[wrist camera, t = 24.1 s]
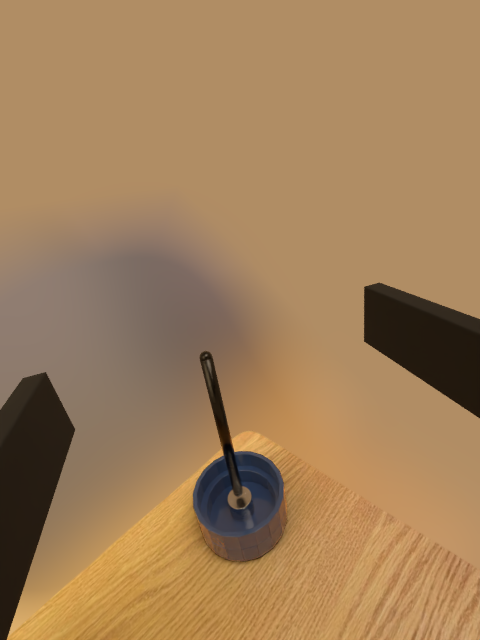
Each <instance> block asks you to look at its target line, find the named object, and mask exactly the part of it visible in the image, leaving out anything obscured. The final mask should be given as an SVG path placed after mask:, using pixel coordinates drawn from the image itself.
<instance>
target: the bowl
mask: <svg viewBox="0 0 480 640" xmlns="http://www.w3.org/2000/svg"><path fill="white" fill-rule="evenodd" d="M234 453H235V458H236V462H237V467H238V471H239V475H240V480H241V484H242V486H244V487H246V488H248V489H249V490H250V492H251V495H252V499H253V504H254V513H253V515H252V517H251V518H250V519H248V520H247V521H244V522H239V521H236V520H235V519H234V518H233V517H232V515H231V512H230V508H229V504H228V500H227V499H228V494H229V492H230V491H231V490H232V486H231V482H230V478H229V474H228V470H227V466H226V462H225V458H224V456H222V457H220V458H218V459H216V460H215V461H213V462H212V463H211V464H210V465H209V466H208V467H207V468H206V469H204V471H203V472H202V474H201V475H200V477H199V478H198V480H197V482H196V486H195V489H194V492H193V507H194V511H195V514H196V517H197V520H198V523H199V525H200V528H201V531H202V534H203V536H204V539H205V541H206V543H207V545H208V546H209V547H210V548H211V549H212V550H213V551H214V552H215V554H217V555H219V556H221V557H223V558H225V559H227V560H231V561H248V560H252V559H255V558H259V557H261V556H262V555H264V554H265V553H267V552H268V551H269V550H271V549H272V548H273V547H274V546H275V544H276V543H277V542H278V540H279V539H280V538H281V536H282V534H283V532H284V529H285V526H286V523H287V502H286V495H285V488H284V482H283V479H282V476H281V473H280V471H279V470H278V468H277V467H276V466H275V464H274V463H273V462H272V461H271V460H269V459H268V458H266V457H265V456H263V455H261V454H257V453H254V452H250V451H238V452H234Z"/></svg>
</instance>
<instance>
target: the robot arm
mask: <svg viewBox="0 0 480 640" xmlns="http://www.w3.org/2000/svg"><path fill="white" fill-rule="evenodd" d="M364 288H365V289H364V342H366V343H368V344H369V345H370V346H372V347H373V348H375V349H376V350H378V351H379V352H381V353H382V354H384V355H385V356H387V357H388V358H390V359H392V360H393V361H395V362H396V363H398V364H399V365H400V366H402V367H403V368H405V369H407V370H408V371H409V372H411V373H412V374H414V375H416V376H417V377H419V378H420V379H422V380H423V381H425V382H426V383H427V384H429V385H430V386H432V387H434V388H435V389H437V390H438V391H440V392H441V393H442V394H444V395H446V396H447V397H449V398H450V399H452V400H453V401H455V402H456V403H458V404H459V405H461V406H462V407H464V408H465V409H467V410H468V411H470V412H471V413H473V414H474V415H476V416H477V417H479V418H480V319H478V318H475V317H472V316H470V315H466V314H464V313H461V312H458V311H456V310H453V309H450V308H448V307H445V306H442V305H439V304H437V303H433V302H431V301H428V300H426V299H423V298H420V297H417V296H415V295H412V294H409V293H406V292H404V291H401V290H398V289H395V288H393V287H390V286H387V285H384V284H382V283H377V284H373V285H369V286H366V287H364ZM74 432H75V428H74V426H73V424H72V423H71V421H70V419H69V417H68V415H67V413H66V411H65V409H64V407H63V405H62V403H61V401H60V399H59V397H58V395H57V393H56V391H55V389H54V388H53V386H52V384H51V382H50V380H49V378H48V376H47V374H46V372H45V373H41V374H37V375H34V376H30V377H26V378H23V379H22V380H21V382H20V383H19V385H18V386H17V387H16V389H15V390H14V391H13V393H12V394H11V396H10V397H9V398H8V400H7V401H6V403H5V404H4V405H3V407H2V409H1V410H0V640H7V637H8V634H9V631H10V627H11V624H12V621H13V618H14V615H15V612H16V609H17V606H18V603H19V600H20V596H21V594H22V591H23V587H24V585H25V581H26V578H27V575H28V572H29V569H30V566H31V563H32V560H33V557H34V554H35V551H36V548H37V545H38V542H39V539H40V536H41V533H42V530H43V526H44V523H45V520H46V517H47V514H48V511H49V508H50V505H51V502H52V499H53V496H54V493H55V489H56V487H57V484H58V480H59V478H60V474H61V471H62V468H63V465H64V462H65V459H66V456H67V453H68V450H69V447H70V444H71V441H72V438H73V435H74Z"/></svg>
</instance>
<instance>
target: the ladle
mask: <svg viewBox="0 0 480 640" xmlns="http://www.w3.org/2000/svg"><path fill="white" fill-rule="evenodd" d="M200 362H201V365H202V370H203V374H204V378H205V381H206V386H207V389H208V394H209V398H210V402H211V405H212V409H213V413H214V418H215V422H216V426H217V430H218V434H219V438H220V442H221V446H222V450H223V454H224V458H225V462H226V466H227V470H228V474H229V478H230V482H231V486H232V490H231V491H230V492H229V494H228V499H227V500H228V504H229V508H230V512H231V515H232V517H233V518H234V519H235V520H236V521H239V522H244V521H247V520H248V519H250V518H251V517H252V515H253V513H254V504H253V499H252V495H251V492H250V490H249V489H248V488H246V487H244V486H242V484H241V480H240V475H239V471H238V467H237V462H236V458H235V453H234V449H233V445H232V440H231V436H230V432H229V427H228V424H227V419H226V414H225V410H224V406H223V401H222V397H221V393H220V388H219V384H218V380H217V375H216V371H215V366H214V362H213V358H212V354H211V353H210V352H208V351H204V352H203V353H201V354H200Z"/></svg>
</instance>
